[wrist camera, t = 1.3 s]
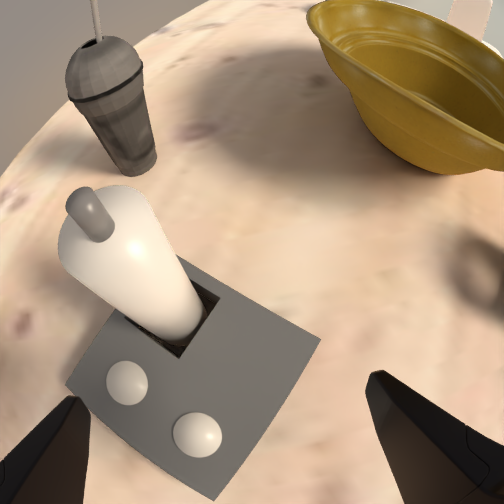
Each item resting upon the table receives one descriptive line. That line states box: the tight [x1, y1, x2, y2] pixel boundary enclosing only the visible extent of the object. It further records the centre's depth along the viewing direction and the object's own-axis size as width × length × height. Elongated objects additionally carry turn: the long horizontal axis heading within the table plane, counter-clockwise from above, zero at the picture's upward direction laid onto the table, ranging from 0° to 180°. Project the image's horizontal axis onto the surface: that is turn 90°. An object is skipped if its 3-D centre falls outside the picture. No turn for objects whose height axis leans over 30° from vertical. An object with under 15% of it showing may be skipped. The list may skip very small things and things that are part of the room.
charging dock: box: [65, 255, 321, 501], centre depth 20 cm, size 14×14×3 cm
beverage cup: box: [65, 0, 157, 177], centre depth 22 cm, size 7×7×20 cm
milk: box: [446, 0, 493, 42], centre depth 45 cm, size 12×12×26 cm
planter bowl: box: [306, 0, 504, 175], centre depth 27 cm, size 32×32×13 cm
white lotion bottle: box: [58, 185, 207, 346], centre depth 16 cm, size 4×4×16 cm
